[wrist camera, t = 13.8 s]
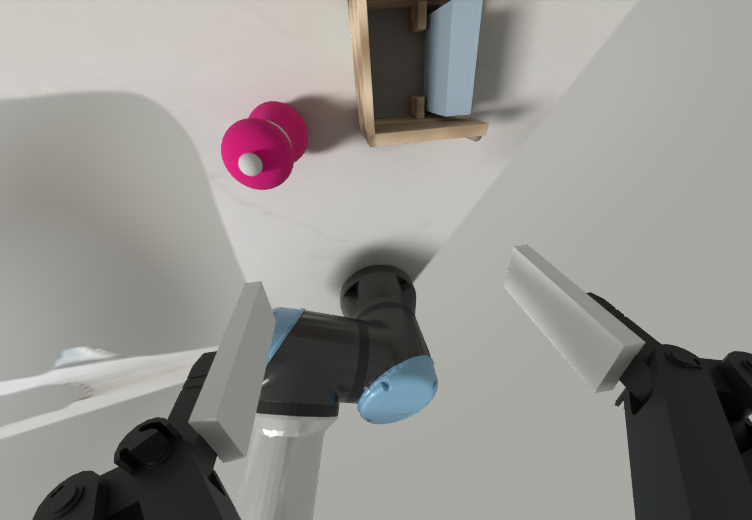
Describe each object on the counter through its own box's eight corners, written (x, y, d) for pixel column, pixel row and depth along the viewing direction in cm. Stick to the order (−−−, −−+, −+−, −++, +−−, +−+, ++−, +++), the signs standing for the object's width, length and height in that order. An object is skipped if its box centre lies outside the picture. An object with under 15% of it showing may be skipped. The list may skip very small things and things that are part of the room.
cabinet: (453, 127, 41) (494, 142, 31) (360, 137, 40) (370, 155, 30) (464, -10, 33) (523, -49, 23) (347, -3, 32) (356, -41, 22)
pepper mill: (320, 126, 39) (314, 161, 22) (291, 167, 41) (265, 227, 24) (273, 85, 35) (224, 90, 19) (244, 132, 38) (178, 173, 21)
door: (449, 107, 40) (477, 113, 32) (423, 109, 39) (445, 116, 32) (455, 15, 34) (490, -4, 27) (425, 17, 34) (452, -1, 26)
